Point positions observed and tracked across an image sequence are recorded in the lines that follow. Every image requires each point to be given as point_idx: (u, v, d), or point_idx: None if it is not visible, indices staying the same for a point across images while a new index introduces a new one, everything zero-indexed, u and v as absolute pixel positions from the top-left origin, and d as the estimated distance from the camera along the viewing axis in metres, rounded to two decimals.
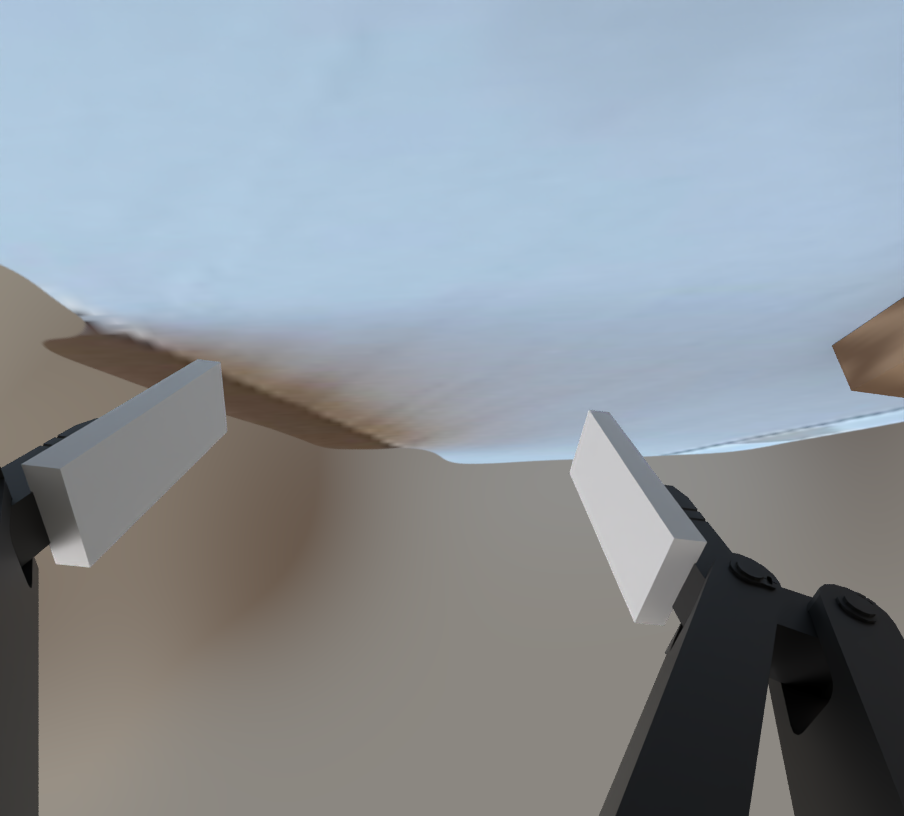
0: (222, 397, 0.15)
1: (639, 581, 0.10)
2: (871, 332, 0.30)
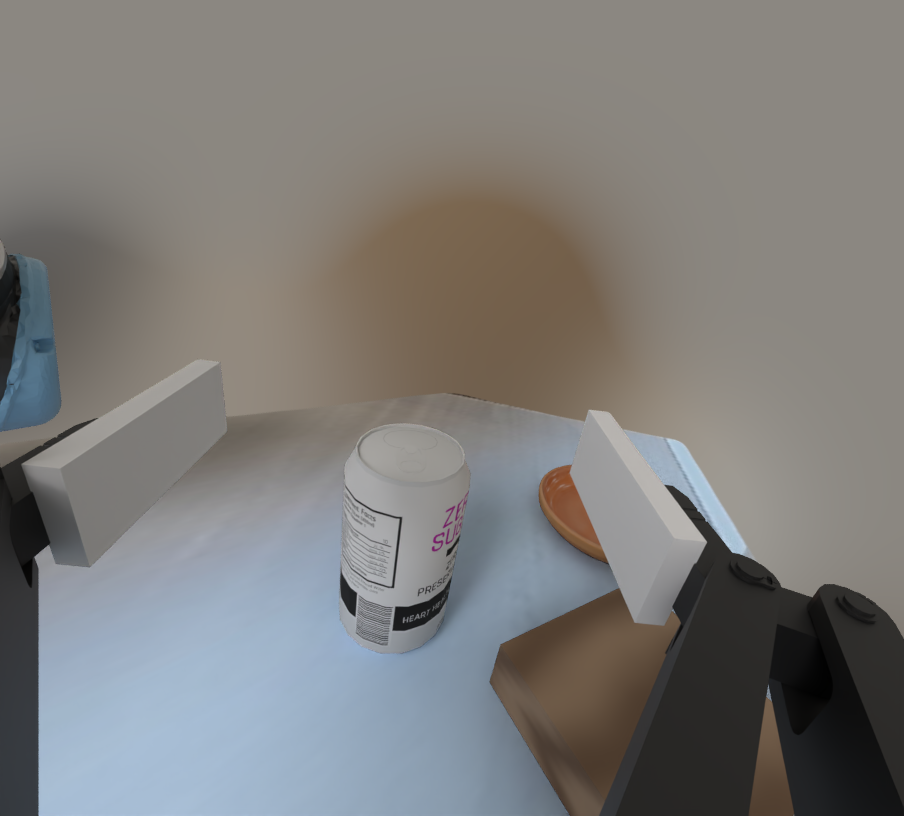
0: (222, 397, 0.15)
1: (639, 581, 0.10)
2: None
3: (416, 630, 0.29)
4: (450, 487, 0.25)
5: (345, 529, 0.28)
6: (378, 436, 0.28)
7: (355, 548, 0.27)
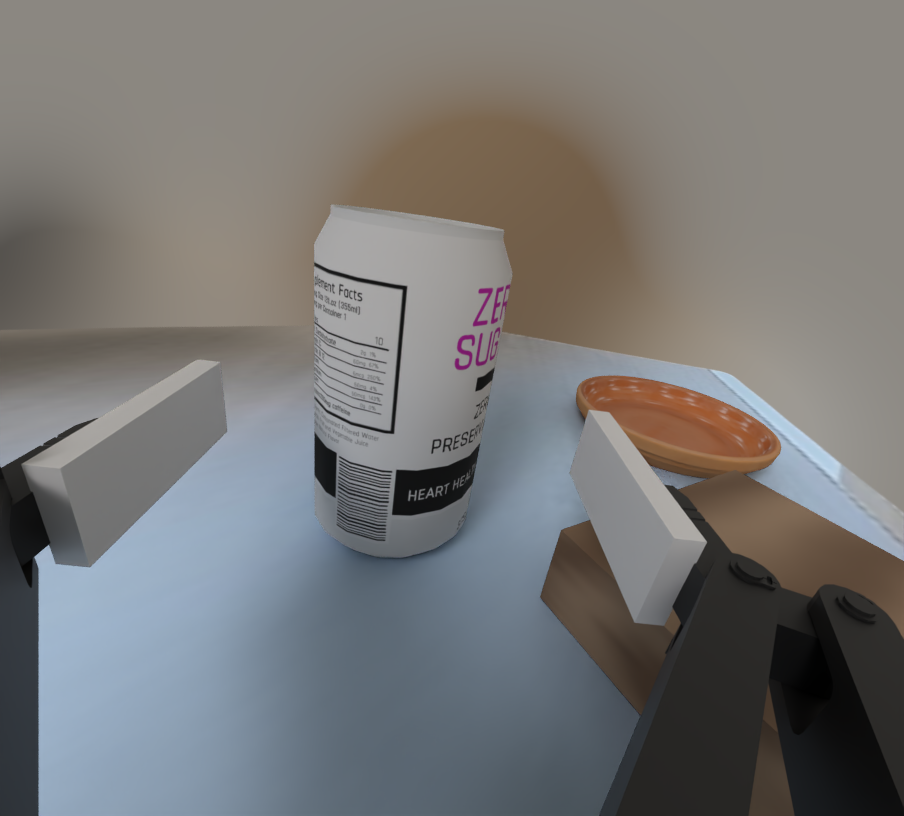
0: (222, 397, 0.15)
1: (639, 581, 0.10)
2: None
3: (428, 518, 0.19)
4: (485, 252, 0.15)
5: (316, 347, 0.17)
6: None
7: (332, 370, 0.17)
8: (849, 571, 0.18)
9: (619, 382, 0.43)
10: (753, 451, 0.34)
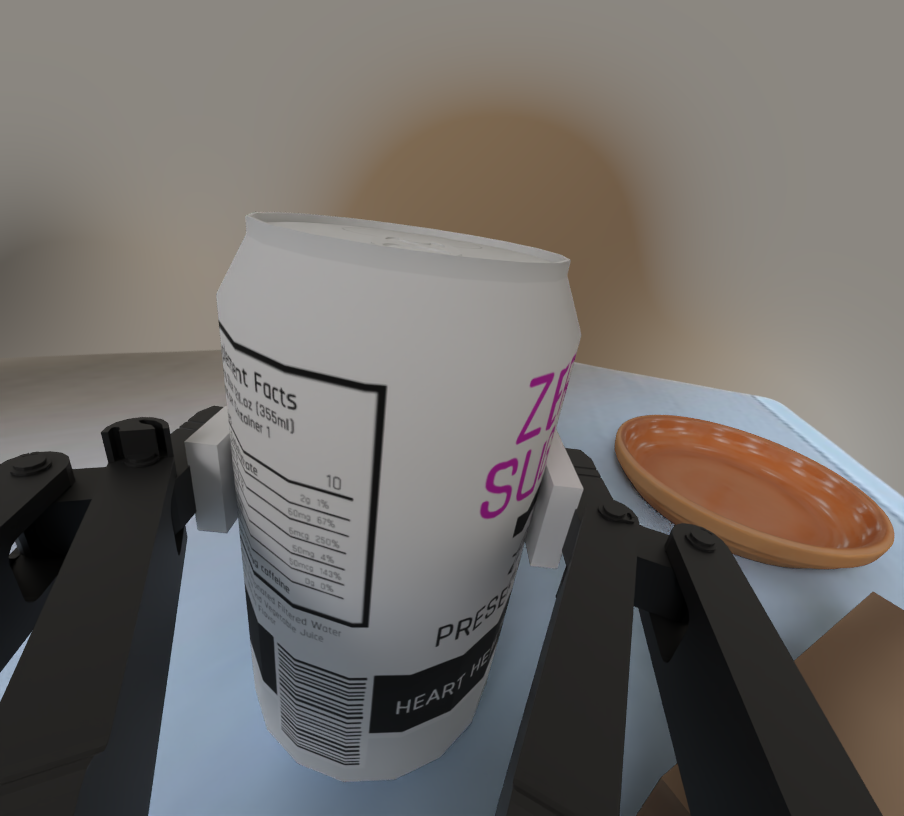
0: None
1: (534, 529, 0.12)
2: None
3: (430, 726, 0.12)
4: (544, 306, 0.08)
5: (234, 462, 0.10)
6: (329, 225, 0.11)
7: (255, 513, 0.09)
8: None
9: (663, 422, 0.35)
10: (849, 525, 0.27)
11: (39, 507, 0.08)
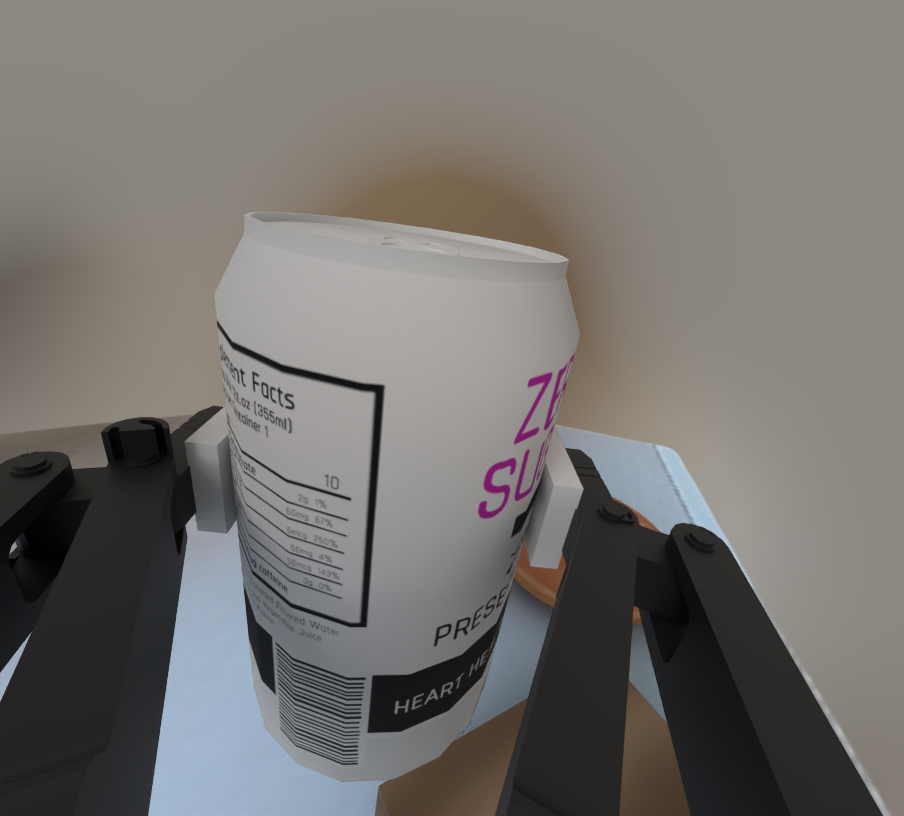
0: None
1: (534, 529, 0.12)
2: None
3: (429, 726, 0.12)
4: (542, 306, 0.08)
5: (233, 462, 0.10)
6: (328, 225, 0.11)
7: (254, 513, 0.09)
8: None
9: None
10: None
11: (39, 507, 0.08)
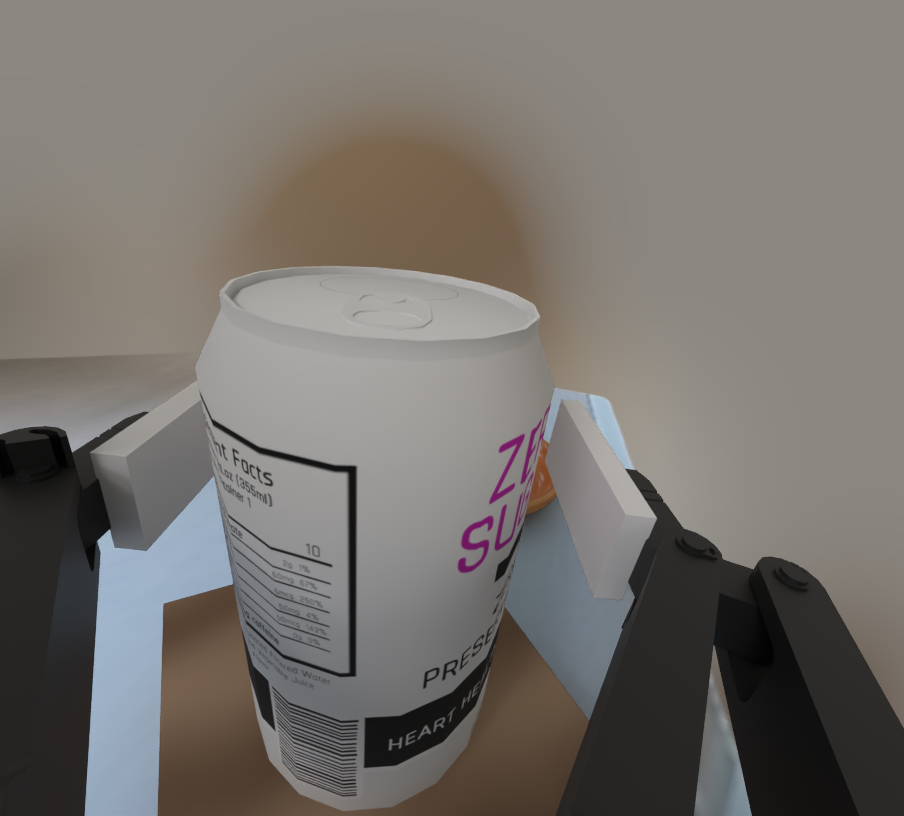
0: None
1: (597, 558, 0.11)
2: None
3: (424, 757, 0.12)
4: (511, 373, 0.08)
5: (223, 519, 0.10)
6: (307, 279, 0.11)
7: (243, 571, 0.10)
8: None
9: None
10: (542, 493, 0.35)
11: None
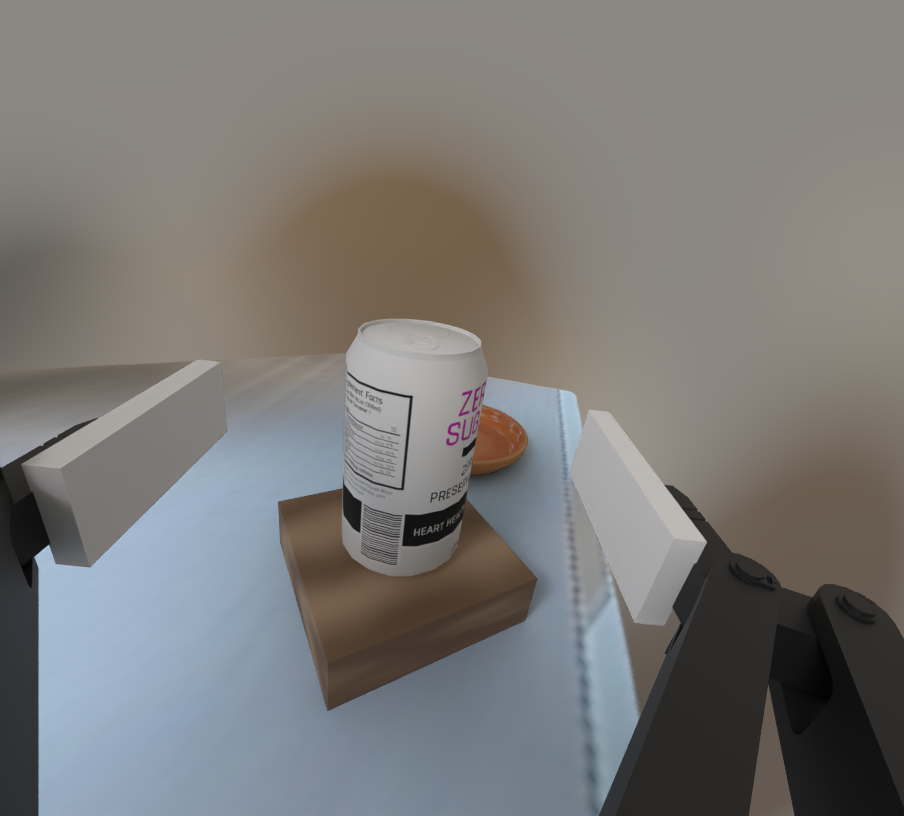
0: (222, 397, 0.15)
1: (639, 581, 0.10)
2: (315, 656, 0.25)
3: (429, 547, 0.26)
4: (466, 367, 0.22)
5: (347, 427, 0.24)
6: (383, 326, 0.25)
7: (359, 445, 0.24)
8: None
9: None
10: None
11: None
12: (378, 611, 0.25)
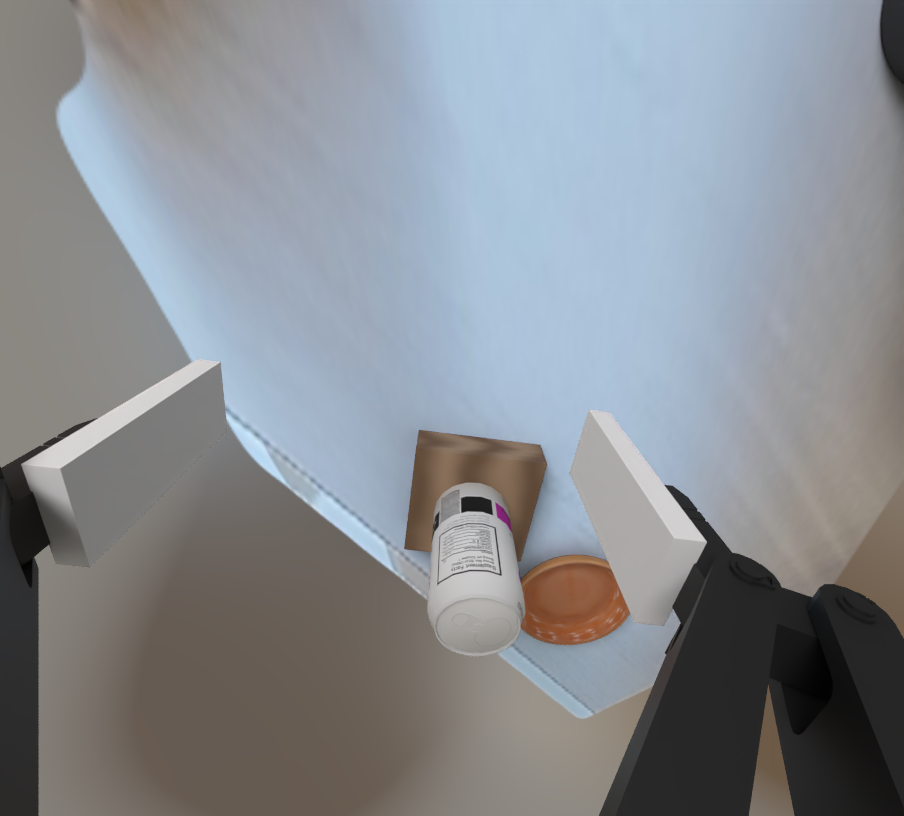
0: (222, 397, 0.15)
1: (639, 581, 0.10)
2: (442, 436, 0.47)
3: (434, 520, 0.45)
4: (433, 624, 0.35)
5: (481, 542, 0.37)
6: (509, 618, 0.34)
7: (465, 538, 0.38)
8: None
9: (619, 616, 0.58)
10: None
11: None
12: (429, 477, 0.46)
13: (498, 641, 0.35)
